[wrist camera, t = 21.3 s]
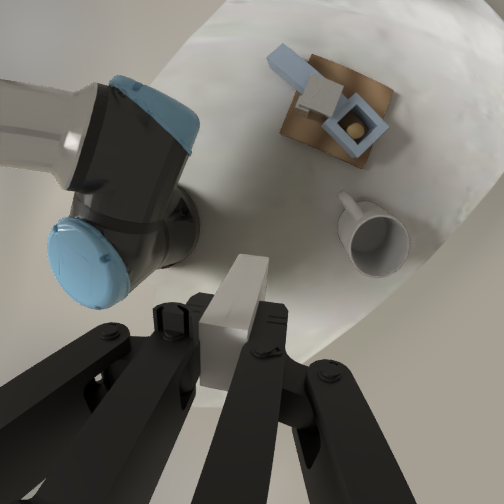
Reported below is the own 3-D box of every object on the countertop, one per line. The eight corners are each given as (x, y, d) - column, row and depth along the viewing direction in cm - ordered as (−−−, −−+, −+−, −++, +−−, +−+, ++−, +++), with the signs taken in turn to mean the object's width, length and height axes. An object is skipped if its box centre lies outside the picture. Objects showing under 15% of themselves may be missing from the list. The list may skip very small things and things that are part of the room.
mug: (396, 232, 44) (421, 253, 34) (356, 262, 47) (370, 291, 37) (356, 172, 43) (373, 176, 32) (313, 204, 45) (318, 218, 35)
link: (379, 130, 38) (389, 127, 34) (351, 157, 41) (358, 157, 36) (291, 48, 36) (290, 36, 32) (262, 74, 38) (258, 65, 34)
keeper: (295, 114, 40) (294, 105, 33) (306, 85, 38) (308, 71, 31) (325, 126, 40) (330, 119, 33) (336, 97, 38) (343, 86, 31)
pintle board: (280, 133, 42) (276, 129, 35) (311, 56, 38) (313, 39, 31) (361, 168, 42) (372, 171, 35) (390, 92, 37) (406, 81, 30)
